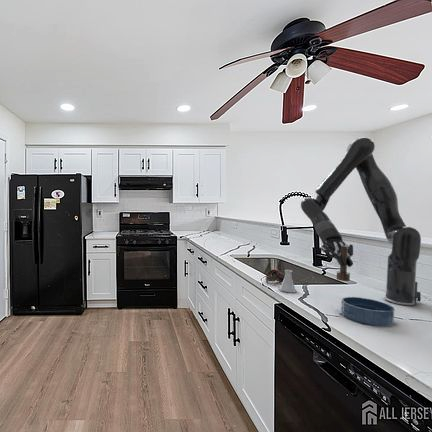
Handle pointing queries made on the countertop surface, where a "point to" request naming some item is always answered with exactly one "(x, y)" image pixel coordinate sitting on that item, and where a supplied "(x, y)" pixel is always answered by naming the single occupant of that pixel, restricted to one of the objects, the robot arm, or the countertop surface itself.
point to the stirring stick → (343, 273)
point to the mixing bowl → (367, 311)
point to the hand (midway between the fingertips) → (347, 265)
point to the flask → (288, 282)
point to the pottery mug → (274, 275)
